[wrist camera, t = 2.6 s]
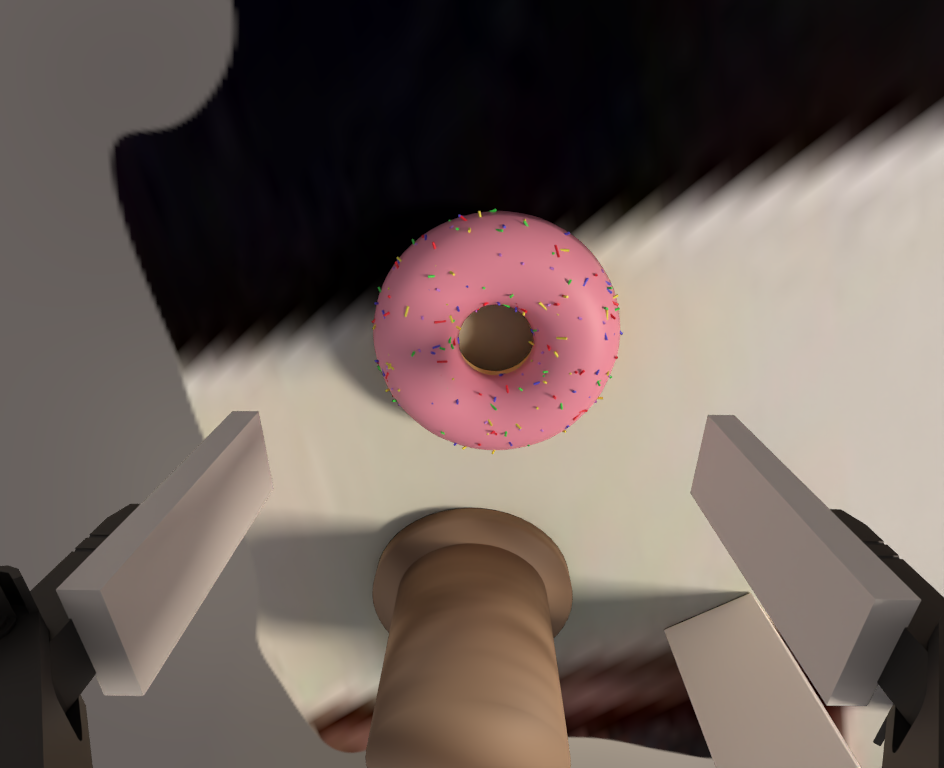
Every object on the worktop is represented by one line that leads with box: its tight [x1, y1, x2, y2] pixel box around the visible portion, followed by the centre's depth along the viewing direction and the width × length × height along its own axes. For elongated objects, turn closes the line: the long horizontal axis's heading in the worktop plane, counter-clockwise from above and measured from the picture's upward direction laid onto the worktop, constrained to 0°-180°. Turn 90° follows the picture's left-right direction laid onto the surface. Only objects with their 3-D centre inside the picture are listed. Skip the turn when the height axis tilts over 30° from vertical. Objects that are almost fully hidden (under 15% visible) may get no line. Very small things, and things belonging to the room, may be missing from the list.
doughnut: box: [372, 209, 623, 454], centre depth 22 cm, size 11×11×4 cm
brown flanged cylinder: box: [366, 508, 573, 768], centre depth 26 cm, size 12×12×10 cm
